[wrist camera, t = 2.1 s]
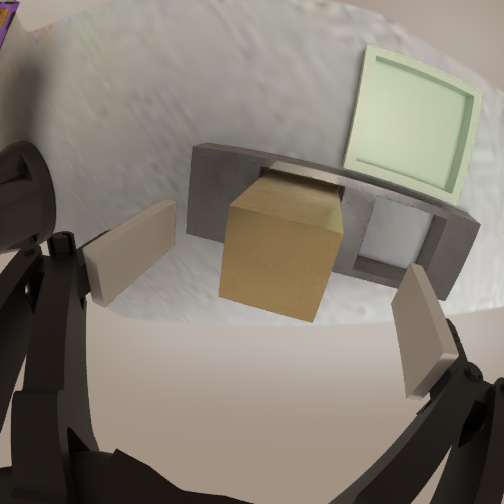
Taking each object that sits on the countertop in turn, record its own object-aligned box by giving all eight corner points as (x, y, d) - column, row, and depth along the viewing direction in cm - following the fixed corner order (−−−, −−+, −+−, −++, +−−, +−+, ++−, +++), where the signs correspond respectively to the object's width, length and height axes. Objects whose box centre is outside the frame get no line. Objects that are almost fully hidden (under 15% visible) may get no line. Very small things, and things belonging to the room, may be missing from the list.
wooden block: (262, 226, 23) (218, 296, 15) (272, 166, 21) (229, 205, 12) (321, 241, 22) (312, 322, 14) (337, 182, 20) (343, 233, 11)
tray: (342, 163, 19) (343, 167, 18) (363, 50, 15) (367, 43, 13) (446, 198, 18) (456, 206, 16) (471, 93, 14) (482, 92, 12)
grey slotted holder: (199, 222, 24) (186, 233, 22) (207, 142, 21) (192, 146, 19) (437, 285, 21) (444, 301, 19) (467, 213, 18) (480, 224, 16)
